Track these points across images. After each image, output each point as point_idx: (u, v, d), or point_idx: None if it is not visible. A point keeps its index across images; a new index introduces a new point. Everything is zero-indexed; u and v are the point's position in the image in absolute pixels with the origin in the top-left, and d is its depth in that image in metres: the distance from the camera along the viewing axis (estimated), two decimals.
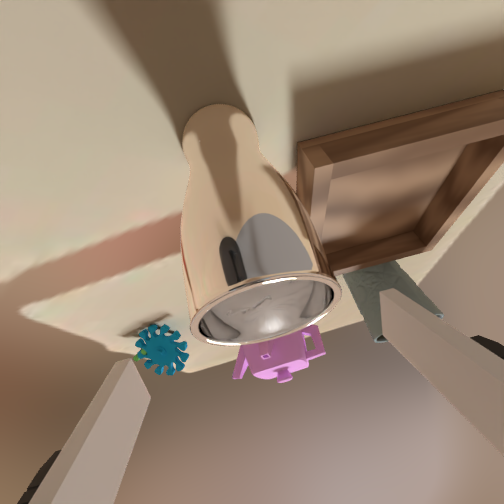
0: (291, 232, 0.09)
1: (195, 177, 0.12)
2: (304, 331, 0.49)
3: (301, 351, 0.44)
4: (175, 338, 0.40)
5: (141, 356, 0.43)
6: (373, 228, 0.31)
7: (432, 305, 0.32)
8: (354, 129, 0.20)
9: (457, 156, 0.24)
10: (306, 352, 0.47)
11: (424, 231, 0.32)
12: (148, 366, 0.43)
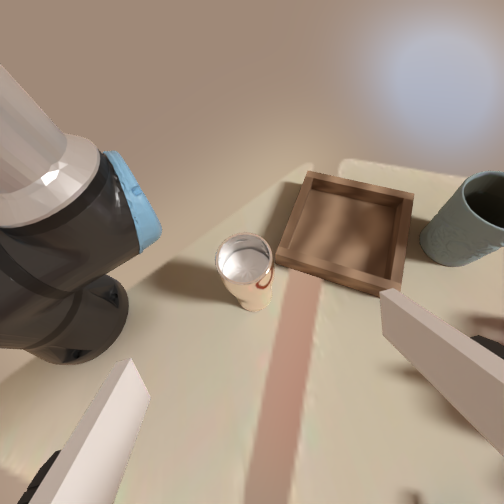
0: None
1: None
2: None
3: None
4: None
5: None
6: (371, 234, 0.41)
7: None
8: None
9: (329, 194, 0.46)
10: None
11: (390, 201, 0.42)
12: None
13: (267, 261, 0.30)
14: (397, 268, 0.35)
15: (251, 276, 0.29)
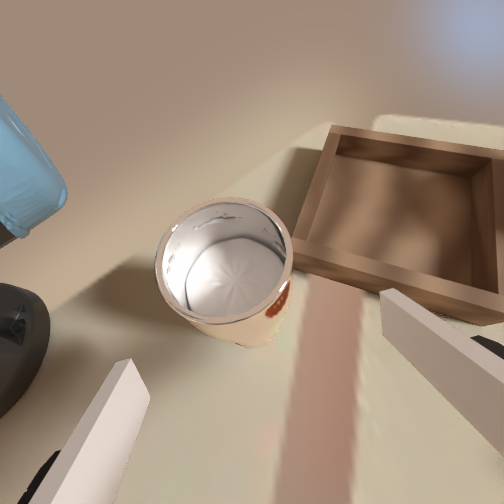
0: None
1: None
2: None
3: None
4: None
5: None
6: (437, 217, 0.26)
7: None
8: None
9: (364, 161, 0.31)
10: None
11: (465, 166, 0.27)
12: None
13: (277, 262, 0.15)
14: None
15: (244, 294, 0.14)
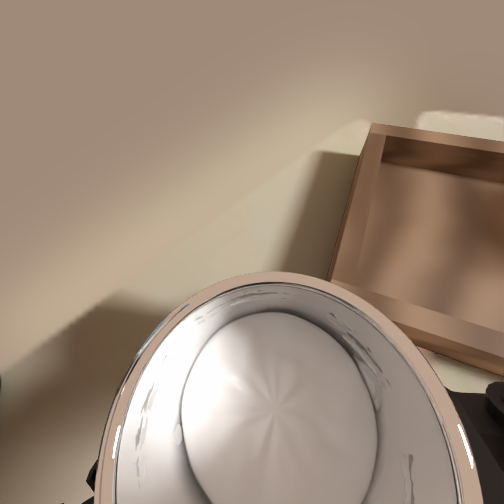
0: None
1: None
2: None
3: None
4: None
5: None
6: None
7: None
8: (332, 258, 0.21)
9: (413, 170, 0.24)
10: None
11: None
12: None
13: (349, 369, 0.08)
14: None
15: (294, 444, 0.07)
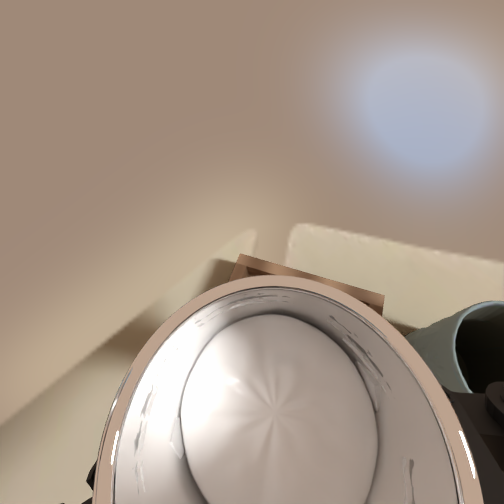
0: None
1: None
2: None
3: None
4: None
5: None
6: None
7: (453, 316, 0.21)
8: None
9: None
10: None
11: None
12: None
13: (350, 372, 0.08)
14: None
15: (294, 448, 0.07)
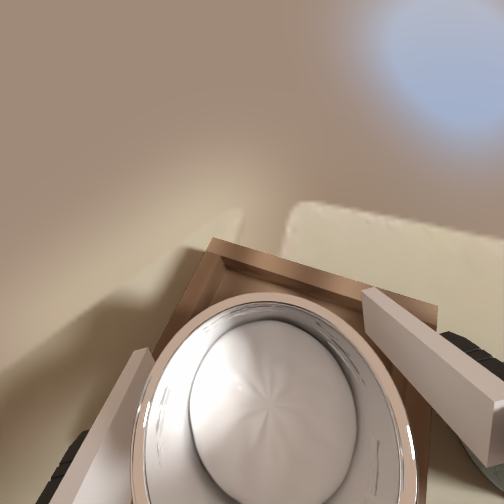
0: None
1: None
2: None
3: None
4: None
5: None
6: None
7: None
8: None
9: (261, 283, 0.23)
10: None
11: None
12: None
13: (334, 371, 0.09)
14: None
15: (285, 434, 0.08)
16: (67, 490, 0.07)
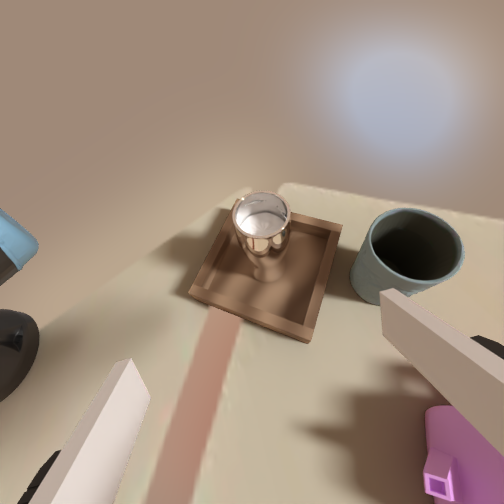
0: None
1: None
2: None
3: None
4: None
5: None
6: (297, 268, 0.39)
7: None
8: None
9: None
10: None
11: (320, 232, 0.40)
12: None
13: (283, 223, 0.30)
14: (312, 311, 0.32)
15: None
16: None
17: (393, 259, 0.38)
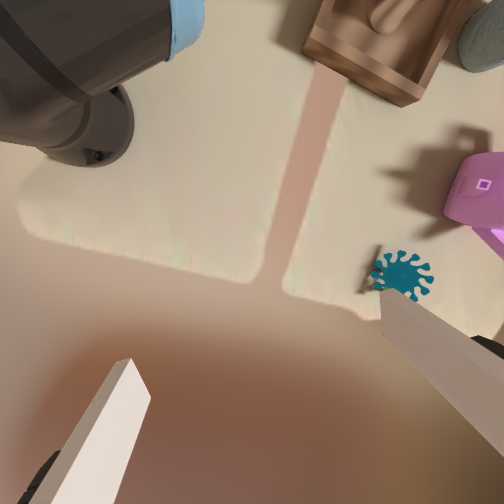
0: None
1: None
2: None
3: None
4: (403, 254, 0.44)
5: None
6: (417, 17, 0.35)
7: None
8: None
9: None
10: None
11: None
12: None
13: None
14: (430, 69, 0.34)
15: None
16: None
17: None
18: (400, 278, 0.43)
